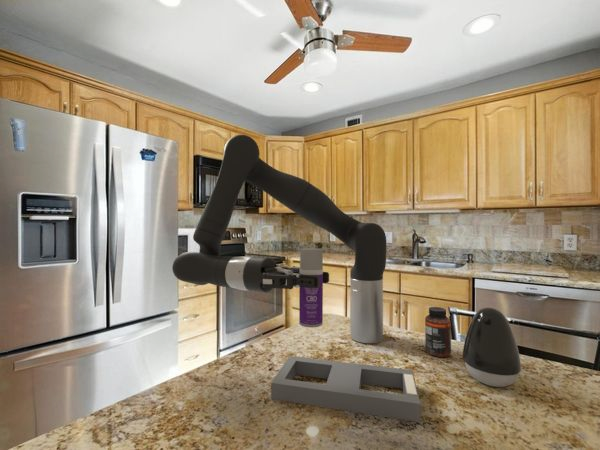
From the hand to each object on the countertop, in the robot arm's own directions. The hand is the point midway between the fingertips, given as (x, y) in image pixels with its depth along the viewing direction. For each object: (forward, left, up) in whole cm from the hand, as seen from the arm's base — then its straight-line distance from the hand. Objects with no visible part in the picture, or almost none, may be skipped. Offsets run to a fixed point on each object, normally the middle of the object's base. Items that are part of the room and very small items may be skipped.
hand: (323, 279), depth 59 cm
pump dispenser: (-12, +33, -22) cm, 41 cm away
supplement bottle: (-24, +25, -22) cm, 41 cm away
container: (0, -3, -9) cm, 10 cm away
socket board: (0, +4, -22) cm, 22 cm away
